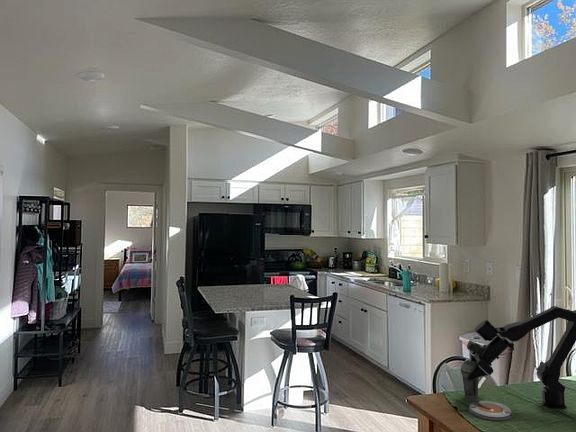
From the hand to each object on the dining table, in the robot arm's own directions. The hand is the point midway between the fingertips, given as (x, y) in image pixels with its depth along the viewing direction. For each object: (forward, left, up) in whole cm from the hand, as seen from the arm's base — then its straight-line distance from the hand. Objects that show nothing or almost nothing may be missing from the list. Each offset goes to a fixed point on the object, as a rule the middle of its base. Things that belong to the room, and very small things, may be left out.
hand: (466, 375), depth 174 cm
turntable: (-5, +13, -10) cm, 17 cm away
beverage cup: (-1, 0, -10) cm, 10 cm away
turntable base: (-5, +13, -10) cm, 17 cm away
